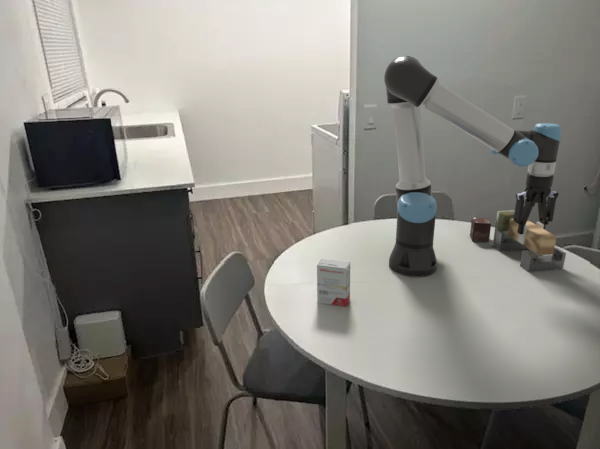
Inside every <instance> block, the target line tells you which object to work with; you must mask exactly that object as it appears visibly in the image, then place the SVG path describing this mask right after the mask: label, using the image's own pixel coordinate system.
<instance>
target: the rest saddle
mask: <svg viewBox="0 0 600 449" xmlns="http://www.w3.org/2000/svg"><path fill="white" fill-rule="evenodd" d="M566 256H567V253H566V252H565V251H563V250H562V249H560V248H558V247H555V249H554V254H551V255H536V256H535V255H533V254H532V253H530V252H529V251H527V249H522V251H521V257H520V262H519V267H520V268H522V269H524V270H525V271H526V272H527V273H532V272H543V271H544V272H545V271H555V270H554V269H557V270H563V269H564V265H565V262H566V261H565V260H566ZM562 268H563V269H562Z"/></svg>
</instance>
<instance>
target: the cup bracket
mask: <svg viewBox="0 0 600 449" xmlns="http://www.w3.org/2000/svg"><path fill="white" fill-rule="evenodd" d="M514 213H515V209H509V210H497V212H496V219H495V226H494V234H493V241H492V247H493V248H494V249H495V250H497V251H498V252H506V251H507V252H508V251H519V250H529V249H528V248H527V247H525V246H524V245H522V244H521V243H519V242H518V241H516V240H515V239H513V238H512V237H510V236H509V235H508V228H509V221H510V218H514Z"/></svg>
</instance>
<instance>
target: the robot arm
mask: <svg viewBox="0 0 600 449" xmlns="http://www.w3.org/2000/svg"><path fill="white" fill-rule="evenodd" d="M383 77H384V85H385V90H386V100H387V105H388V106H389V107H391V108H392V112H393V123H394V124H393V125H394V135H395V144H396V155H397V157H396V158H397V167H398V177H399V179H398V182H397V183H396V184H395V194H396V196H395V197H396V211H397V212H396V233H395V244H394V245H393V246H394V247H393V249H392V251H391V253H390V256H389V257H388V258H389V259H388V266H389V268H390V269H391V271H393V272H395V273H397V274H400V275H403V276H406V277H417V278H418V277H427V276H431V275H432V274H434V273H436V272H437V269H438V267H437V266H438V261H437V256H436V253H435V249H434V239H435V238H434V237H435V226H436V215H437V212H438V208H437V207H438V206H437V201H436V199H435V198H434V197H433V192H432V182H431V180H429V179H428V178H427V177H426V163H425V162H426V161H425V149H424V148H425V147H424V135H423V134H424V133H423V120H422V108H425V109H427V110H428V111H430V112H432V113H433V114H435V115H437V116H438V117H440V118H441V119H443V120H444V121H446V122H447V123H450V124H451V125H453V126H454V127H456V128H458V129H459V130H461V131H462V132H464V133H465V134H467V135H469V136H471V138H473V139H475V140H476V141H477V142H480V143H482V144H483V145H485V146H487V147H488V148H490V153H491V154H493V155H498V156H503V157H504V158H506V159H507V160H509V161H510V163H512V164H513V165H515V166H518V167H522V168H523V167H527V172H528V173H527V174H526V179H525V185H526V186H525V189H524V191H522V192H521V193H519V192H516V194H515V198H516V201H515V202H516V203H515V206H514V207H515V208H514V210H515V213H514V219H513V221H514V222H516V223H517V224H519V225H518V231H517V232H518V233H519V237H518V242H520V243H521V244H525V239H526V233H527V227H528V226H527V225H526V222H527V220H529V217H530V214H531V212H532V210H533V207H535V205H536V204H537V208H538V209H537V210H538V211H537V212H538V218H539V219H538V220H539V221H536V225H537V226H539V227H541V228H543V229H544V230H546V226H547V225H549V222H551V223H552V222H553V220H554V214H555V209H556V202H557V199H558V198H559V192H558V191H555V190H552V189H551V188H552V187H553V182H554V177H555V176H554V174H555V171H556V165H557V158H558V153H559V148H560V144H561V137H562V136H561V135H562V127H561V125H559V124H557V123H548V122H547V123H546V122H544V123H541V122H540V123H536V124H535V125H534V128H533V129H531V130H517V129H516V130H515V129H514V128H512V127H510V126H508V125H507V124H505V123H504V122H502V121H500V120H499V119H498V118H496V117H494V116H493V115H491V114H490V113H488V112H486V111H485V110H483V109H481V108H480V107H478V106H477V105H475V104H474V103H472V102H470V101H468V99H465V98H464V97H462V96H460V94H457V93H456V92H454V91H452V90H451V89H449V88H448V87H446V86H445V85H443V84H441V83H440V80H439V77H438V76H436V75H435V74H433V73H431V72H430V71H429V70H427V69H426V68H425V67H424V65H423V64H421V62H420V61H419V60H418V59H417V58H416V57H414V56H411V55H401V56H398V57H395V58H394V59H393V60H391V62H390V63H388V64H387V67H386V69H385V72H384V75H383Z"/></svg>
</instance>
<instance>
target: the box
mask: <svg viewBox="0 0 600 449" xmlns="http://www.w3.org/2000/svg"><path fill="white" fill-rule="evenodd" d="M491 226H492V222H491V220H490V219H489V217H487V218H486V217H471V223H470V230H469V236H470V239H471V242H481V243H482V242H483V243H484V242H485V243H489V242H490V237H491V236H490V234H491V228H492V227H491Z"/></svg>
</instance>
